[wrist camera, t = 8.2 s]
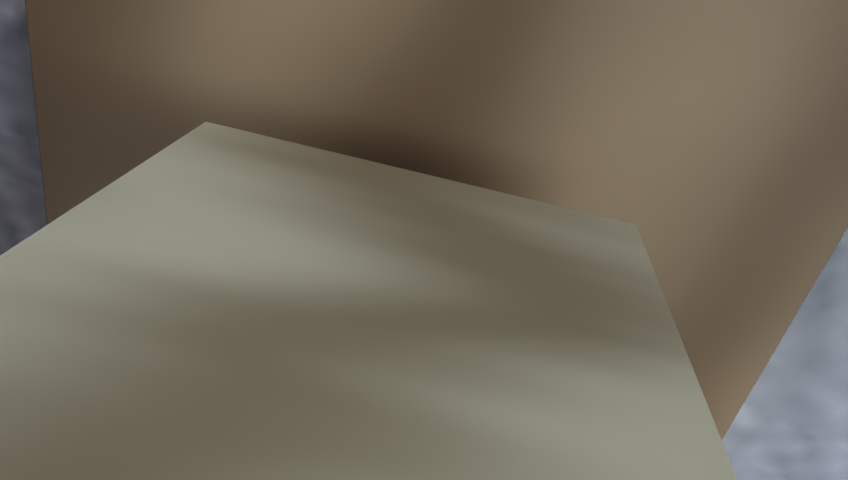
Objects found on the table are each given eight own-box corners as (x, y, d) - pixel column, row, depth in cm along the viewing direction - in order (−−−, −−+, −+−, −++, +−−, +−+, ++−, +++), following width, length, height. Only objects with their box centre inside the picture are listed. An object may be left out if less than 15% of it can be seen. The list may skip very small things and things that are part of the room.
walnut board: (938, -48, 10) (1006, -42, 8) (624, 534, 16) (633, 588, 15) (67, -244, 10) (-2, -269, 9) (104, 405, 17) (69, 447, 15)
